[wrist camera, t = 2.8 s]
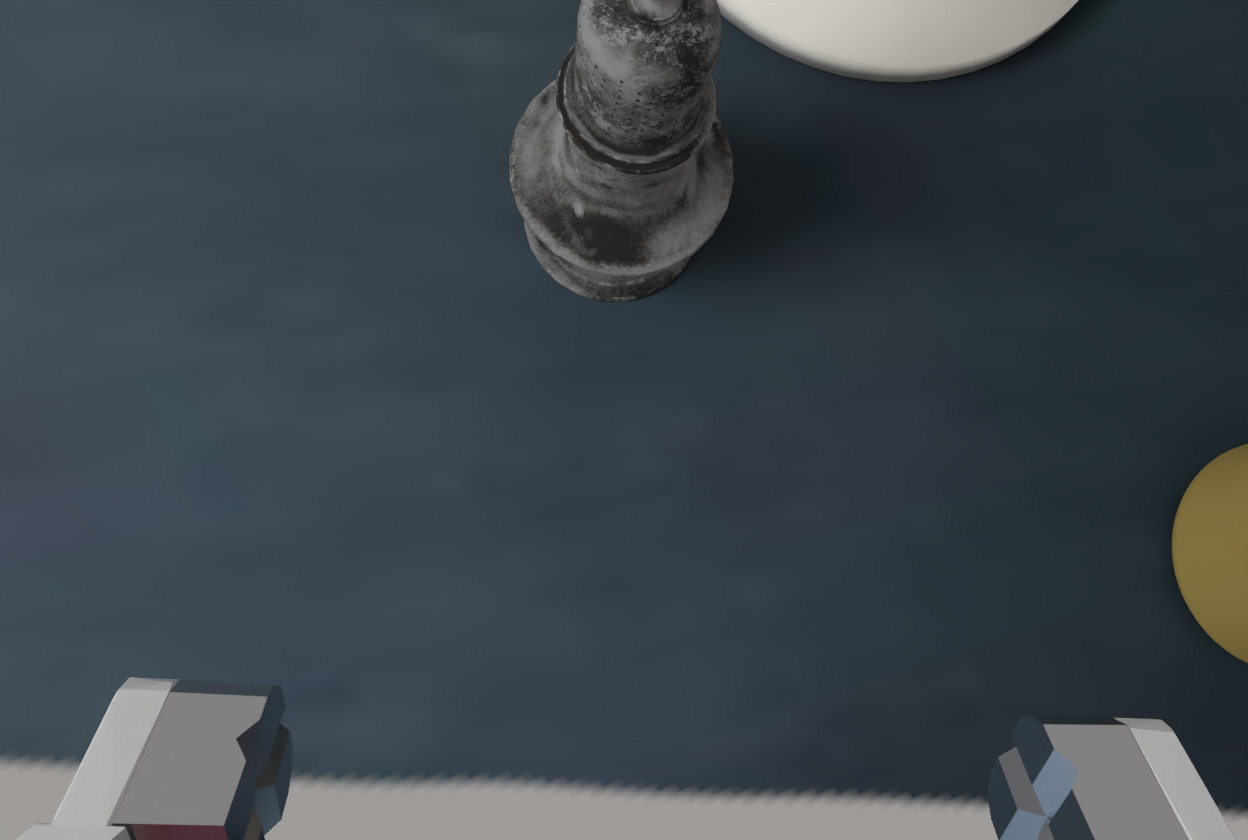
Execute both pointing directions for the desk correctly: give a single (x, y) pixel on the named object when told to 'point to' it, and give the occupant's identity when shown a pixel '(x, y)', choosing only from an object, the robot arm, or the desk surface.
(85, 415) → the desk surface
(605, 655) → the desk surface
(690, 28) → the grey chess piece
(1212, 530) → the wooden cylinder
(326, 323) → the desk surface
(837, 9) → the saucer
